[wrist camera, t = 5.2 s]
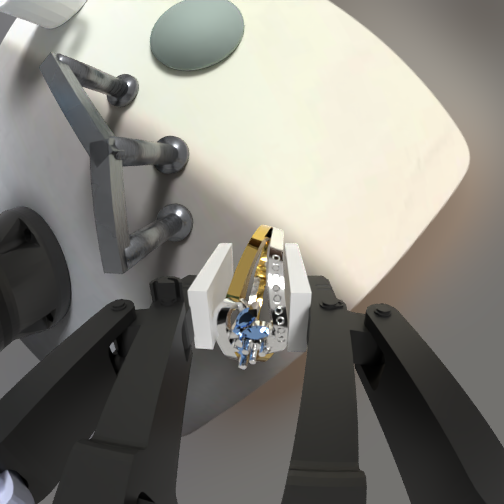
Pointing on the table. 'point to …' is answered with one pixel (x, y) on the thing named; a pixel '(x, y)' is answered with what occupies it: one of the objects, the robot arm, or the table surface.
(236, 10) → the felt coaster
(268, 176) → the table surface
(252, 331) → the ring
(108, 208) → the bent grey rail
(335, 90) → the table surface
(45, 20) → the mug
